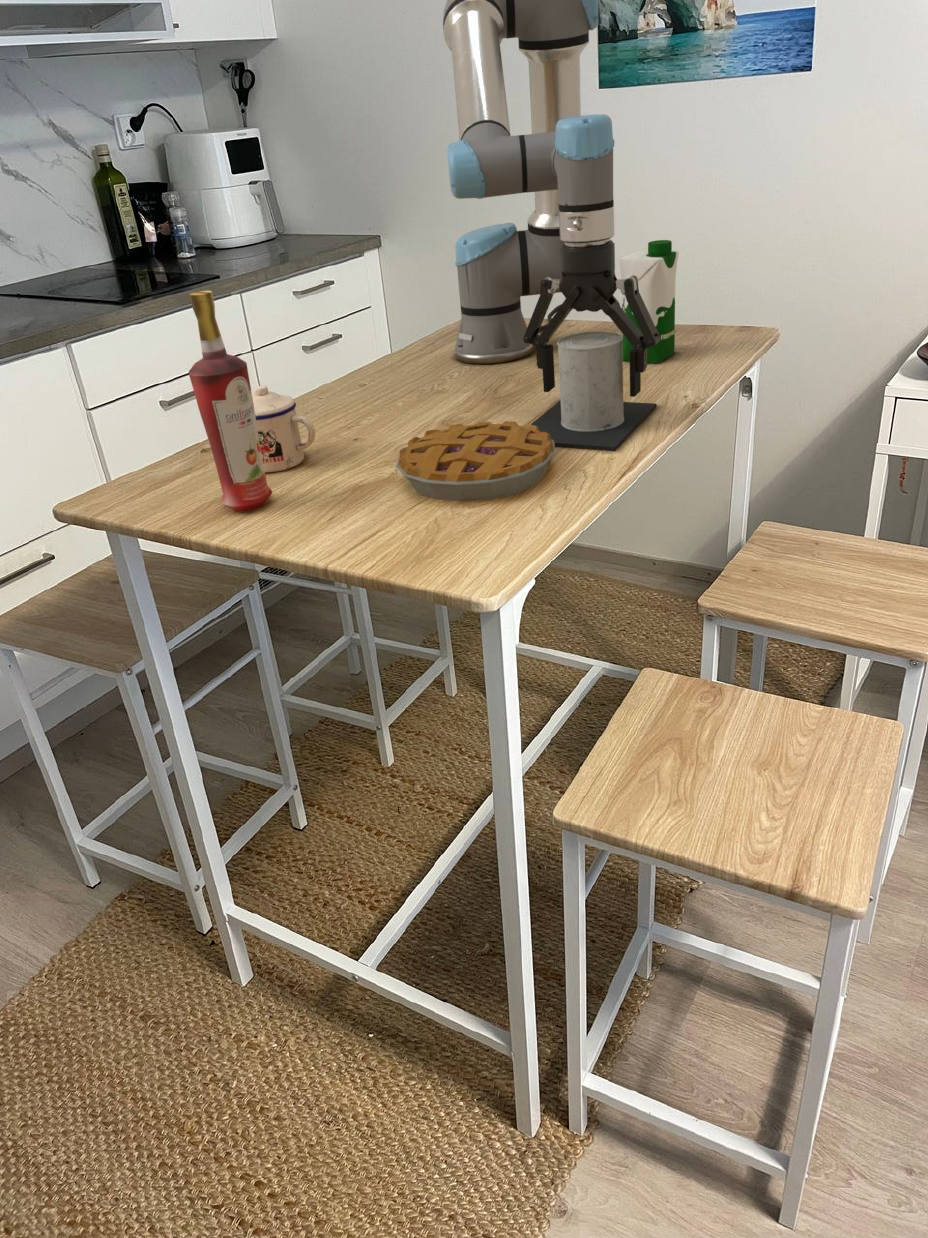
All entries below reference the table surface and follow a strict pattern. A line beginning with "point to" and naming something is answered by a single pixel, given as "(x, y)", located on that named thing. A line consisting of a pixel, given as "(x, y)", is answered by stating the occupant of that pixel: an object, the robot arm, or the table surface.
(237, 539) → the table surface
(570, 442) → the back mat
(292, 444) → the teacup with lid
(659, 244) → the milk carton
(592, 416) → the tin can
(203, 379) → the liquor
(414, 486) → the pie
